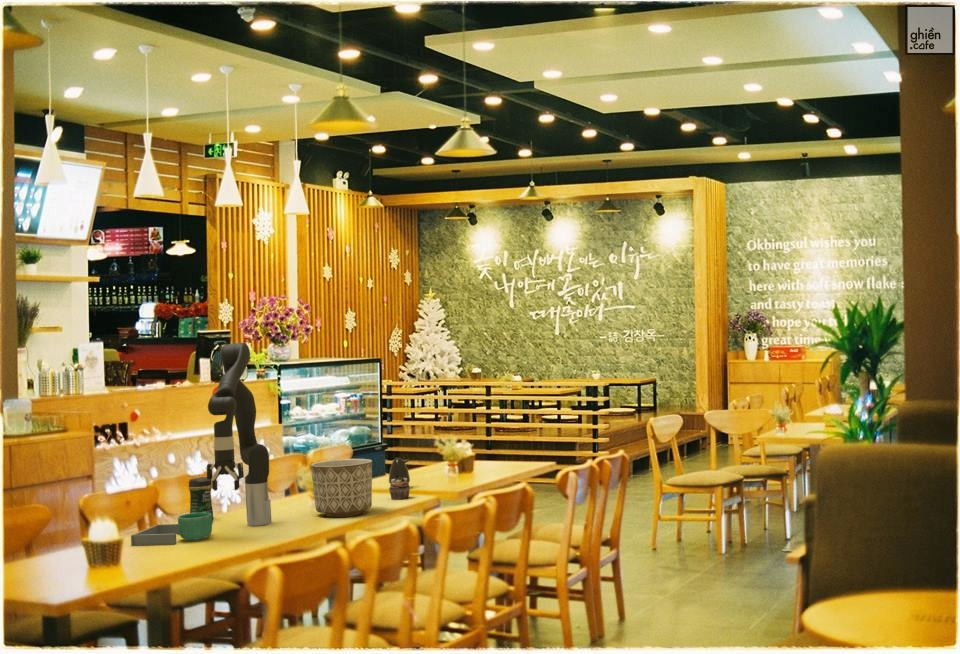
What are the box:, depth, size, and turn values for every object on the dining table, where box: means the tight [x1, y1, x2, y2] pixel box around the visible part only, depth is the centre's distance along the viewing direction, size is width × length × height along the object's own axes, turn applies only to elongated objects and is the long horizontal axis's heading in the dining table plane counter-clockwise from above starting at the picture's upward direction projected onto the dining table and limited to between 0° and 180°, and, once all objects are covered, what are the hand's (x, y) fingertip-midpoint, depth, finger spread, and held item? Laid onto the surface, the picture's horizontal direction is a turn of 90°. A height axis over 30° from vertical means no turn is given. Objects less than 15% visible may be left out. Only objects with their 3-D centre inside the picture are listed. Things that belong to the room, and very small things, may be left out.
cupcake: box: [388, 477, 411, 501], centre depth 526 cm, size 10×10×10 cm
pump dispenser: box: [388, 457, 411, 487], centre depth 559 cm, size 10×10×15 cm
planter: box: [310, 458, 373, 518], centre depth 490 cm, size 26×26×22 cm
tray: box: [130, 523, 180, 547], centre depth 450 cm, size 18×23×4 cm
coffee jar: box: [188, 476, 214, 516], centre depth 493 cm, size 10×8×19 cm
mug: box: [177, 512, 215, 542], centre depth 448 cm, size 17×13×10 cm
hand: (225, 490), depth 446 cm, fingers open, 8 cm apart
